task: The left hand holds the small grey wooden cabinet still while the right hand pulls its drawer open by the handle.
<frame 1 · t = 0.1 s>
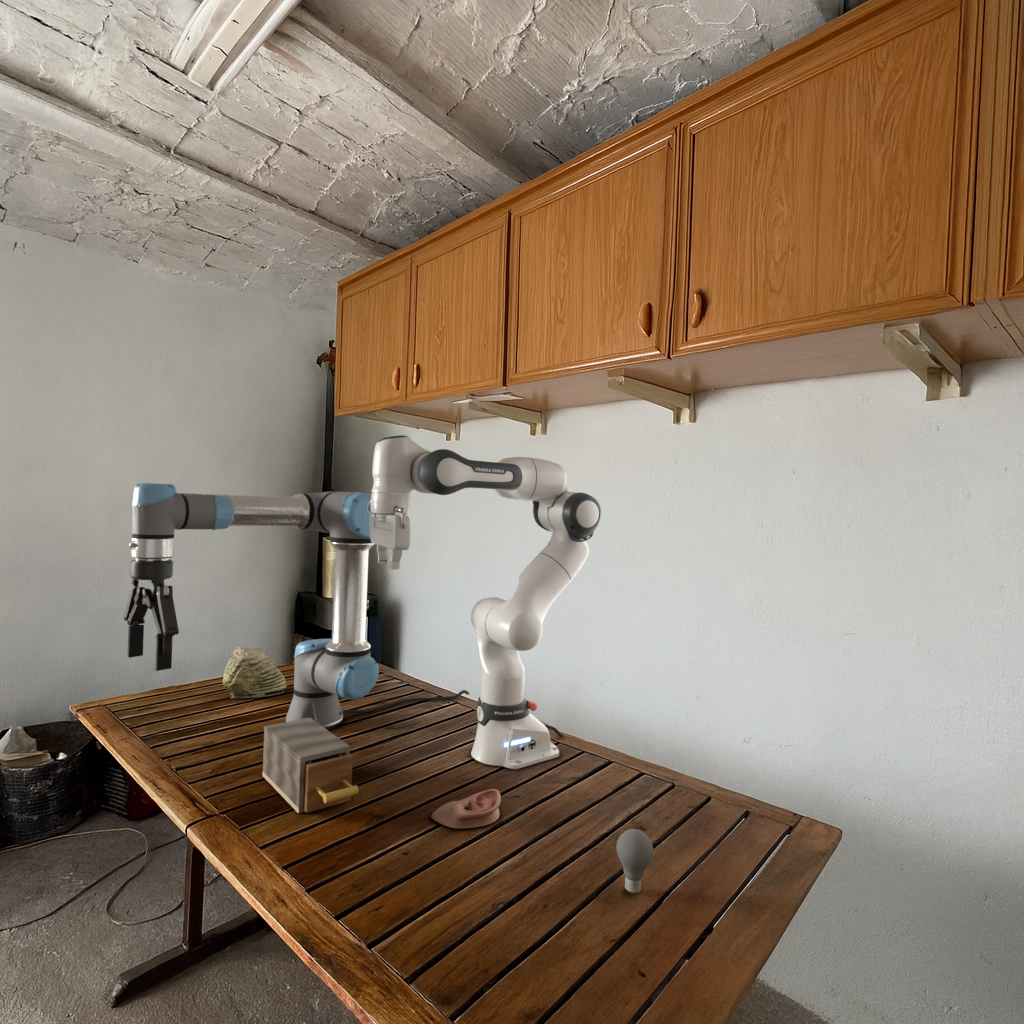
left hand: (148, 662, 129), 28 cm above the table, tool pointing down, fingers open, 13 cm apart
right hand: (388, 566, 145), 48 cm above the table, tool pointing down, fingers open, 8 cm apart
anatomical model: (466, 816, 128), on the table
drawer: (316, 771, 133), point 6 cm above the table, slide at 1.4 cm
fossil: (254, 694, 198), on the table
light bulb: (632, 891, 106), on the table
cabinet: (303, 787, 138), on the table
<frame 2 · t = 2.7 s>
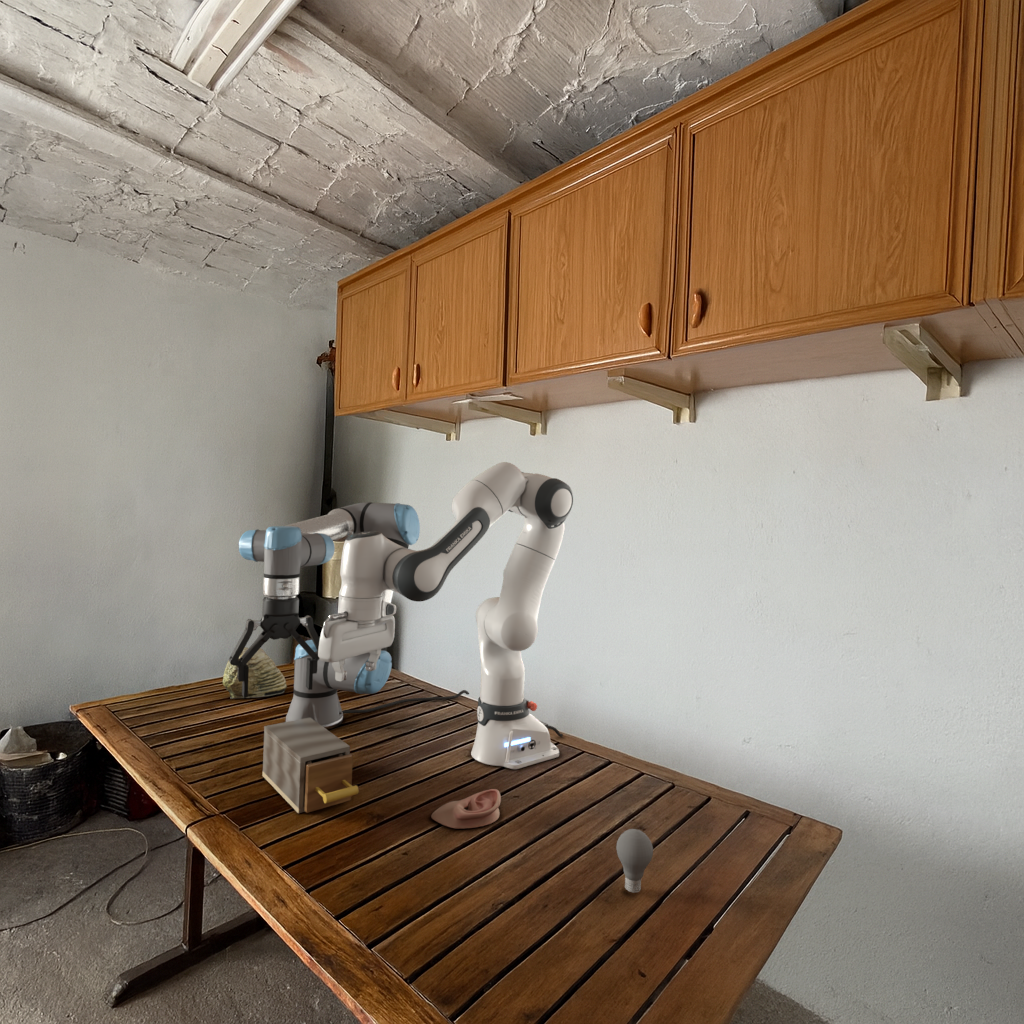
left hand: (277, 692, 140), 20 cm above the table, tool pointing down, fingers open, 13 cm apart
right hand: (356, 675, 132), 27 cm above the table, tool pointing down, fingers open, 8 cm apart
nothing on the table moved.
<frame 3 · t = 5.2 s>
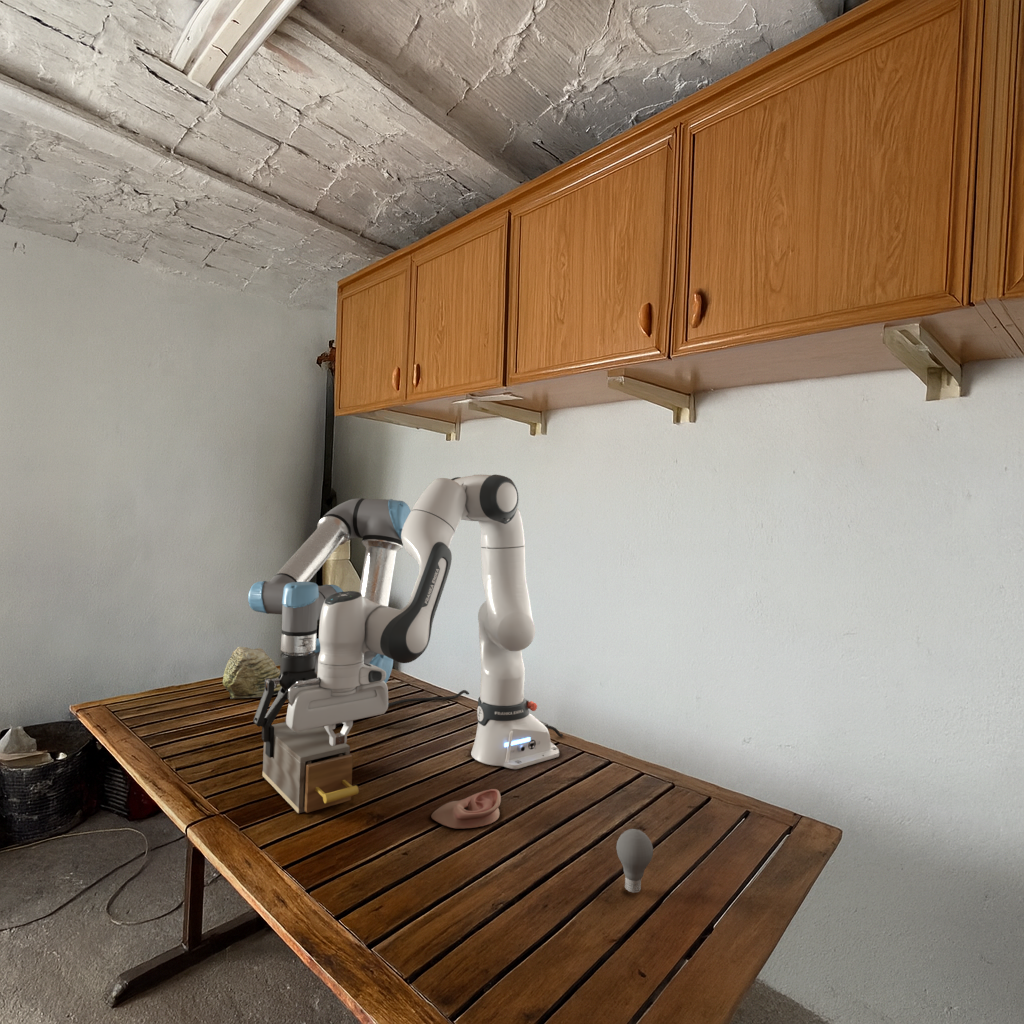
left hand: (294, 749, 142), 6 cm above the table, tool pointing down, fingers closed on cabinet, 11 cm apart
right hand: (337, 743, 126), 15 cm above the table, tool pointing down, fingers closed
cabinet: (303, 787, 138), on the table, touching left hand
everything else where it was.
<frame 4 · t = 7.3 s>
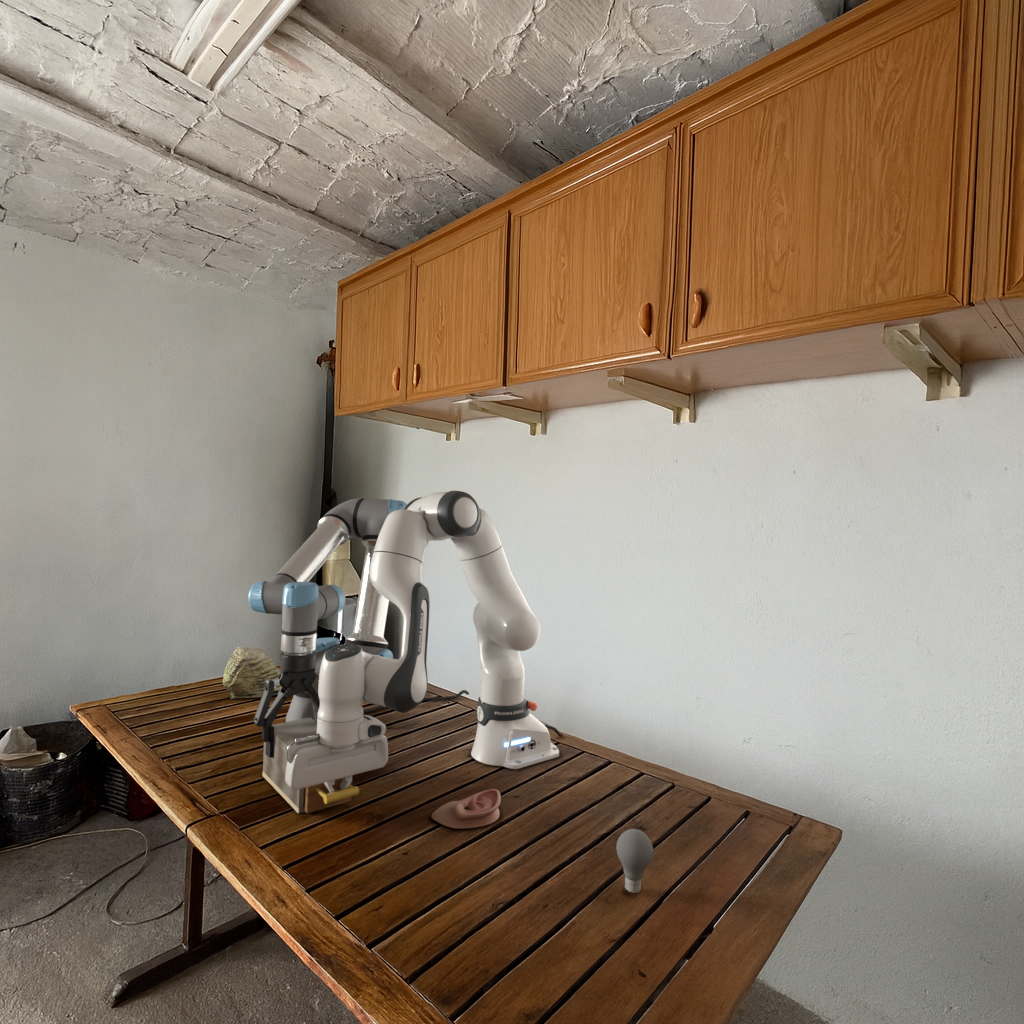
left hand: (294, 749, 142), 6 cm above the table, tool pointing down, fingers closed on cabinet, 11 cm apart
right hand: (337, 798, 125), 4 cm above the table, tool pointing down, fingers closed, pressing on drawer
drawer: (316, 772, 133), point 6 cm above the table, slide at 1.6 cm, touching right hand
cabinet: (303, 787, 138), on the table, touching left hand
everything else where it was.
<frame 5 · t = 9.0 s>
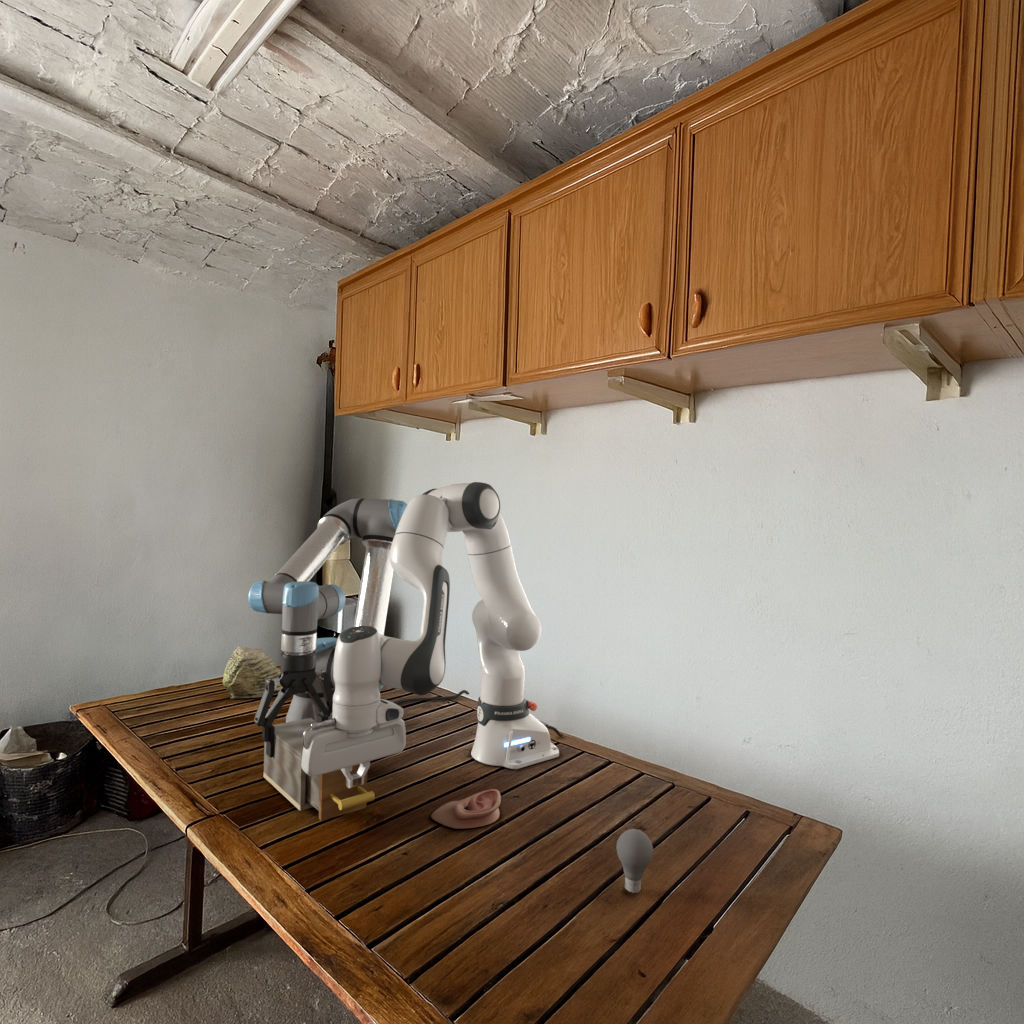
left hand: (295, 749, 142), 6 cm above the table, tool pointing down, fingers closed on cabinet, 11 cm apart
right hand: (354, 785, 121), 9 cm above the table, tool pointing down, fingers closed
drawer: (329, 778, 128), point 6 cm above the table, slide at 7.4 cm
cabinet: (305, 786, 137), on the table, touching left hand
everything else where it was.
when the left hand's fingers open (6 cm above the table, at t = 10.4 s): cabinet stays where it is, on the table.
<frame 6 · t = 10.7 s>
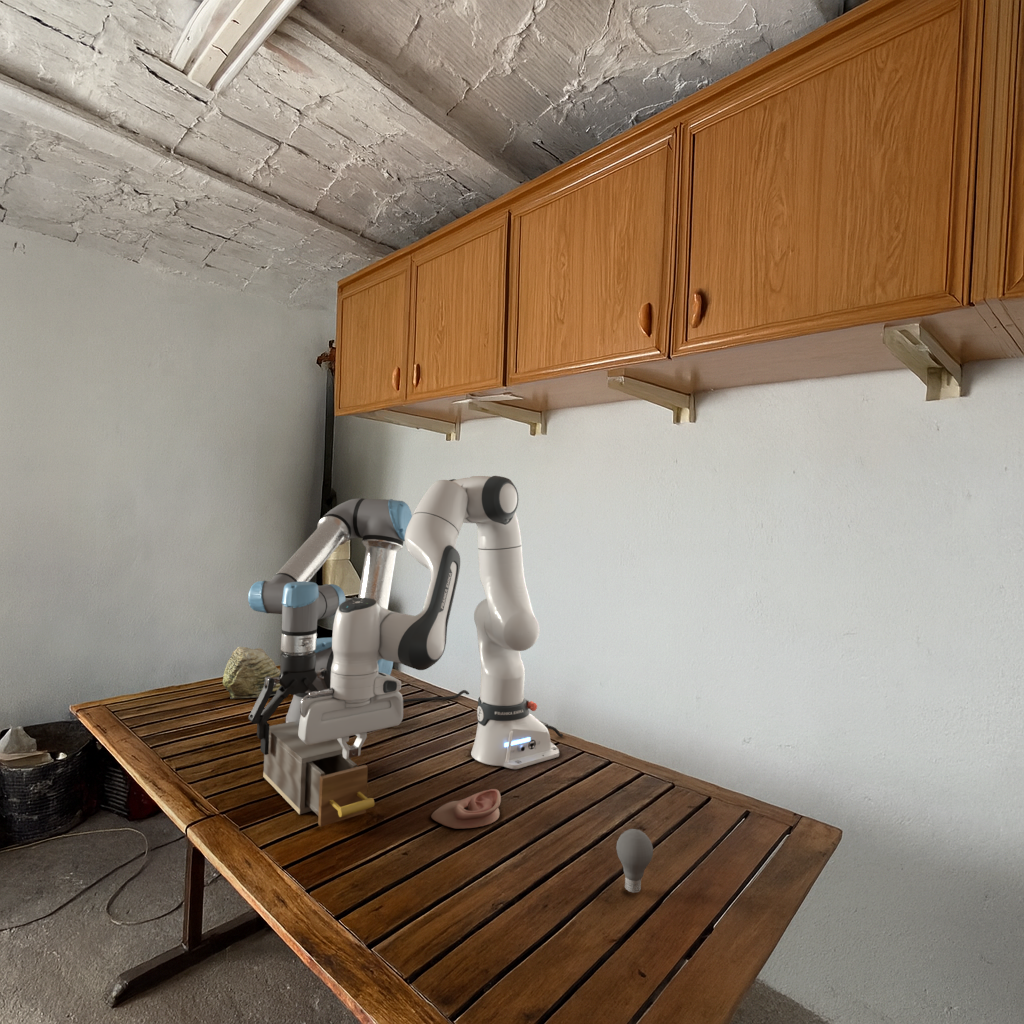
left hand: (295, 745, 142), 7 cm above the table, tool pointing down, fingers open, 13 cm apart
right hand: (351, 756, 121), 14 cm above the table, tool pointing down, fingers closed
cabinet: (304, 787, 137), on the table
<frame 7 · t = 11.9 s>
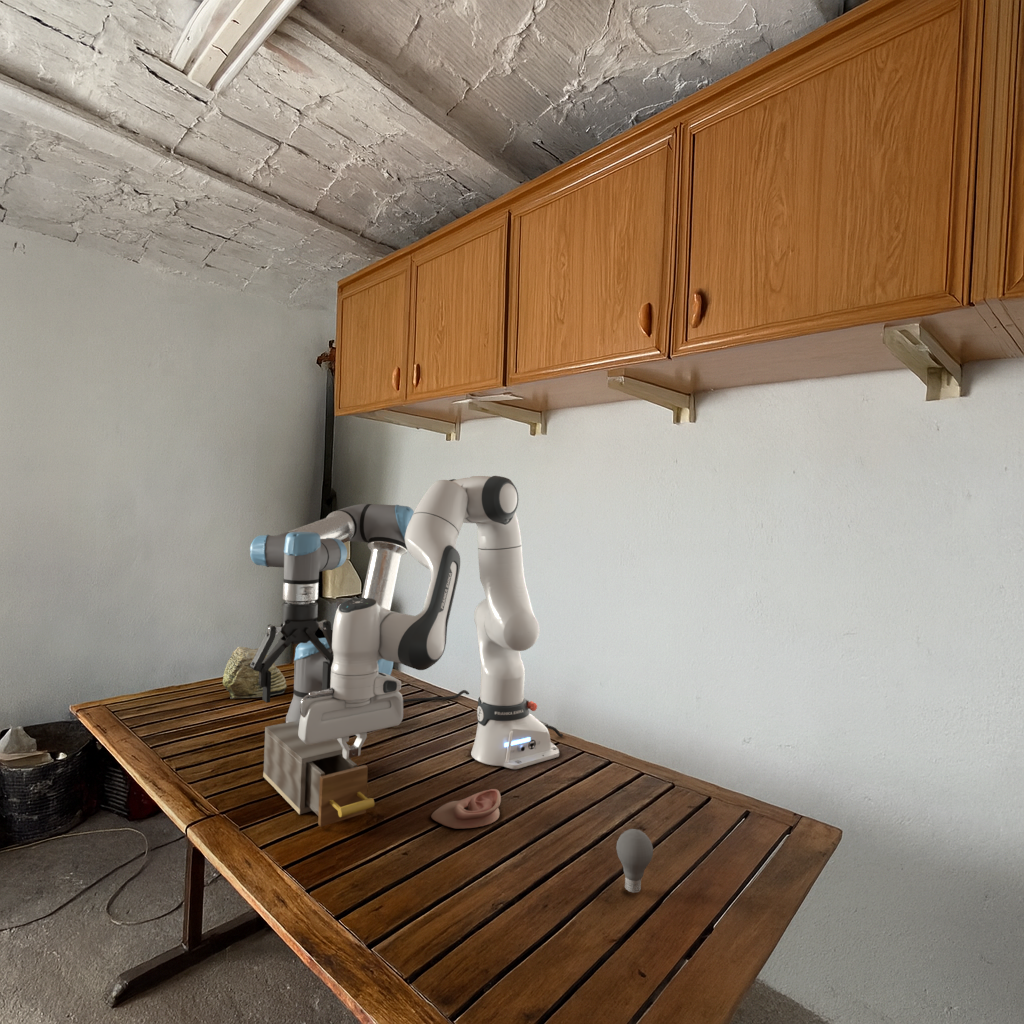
left hand: (296, 695, 142), 18 cm above the table, tool pointing down, fingers open, 13 cm apart
right hand: (351, 756, 121), 14 cm above the table, tool pointing down, fingers closed
nothing on the table moved.
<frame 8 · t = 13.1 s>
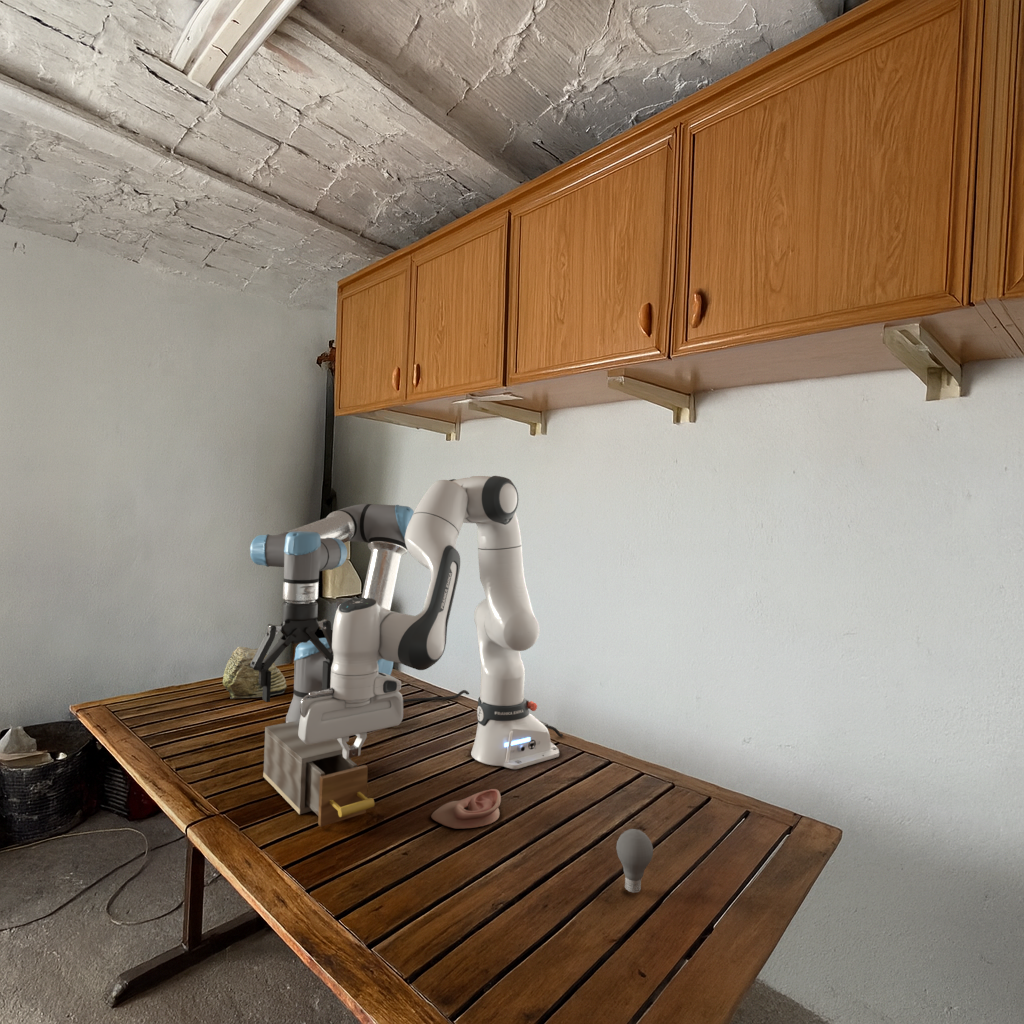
left hand: (296, 695, 142), 19 cm above the table, tool pointing down, fingers open, 13 cm apart
right hand: (351, 756, 121), 14 cm above the table, tool pointing down, fingers closed
nothing on the table moved.
at the end: drawer slide at 7.4 cm; cabinet tilted 0°; cabinet never tilted more than 3° during the clip; cabinet moved 0.5 cm from its start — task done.
